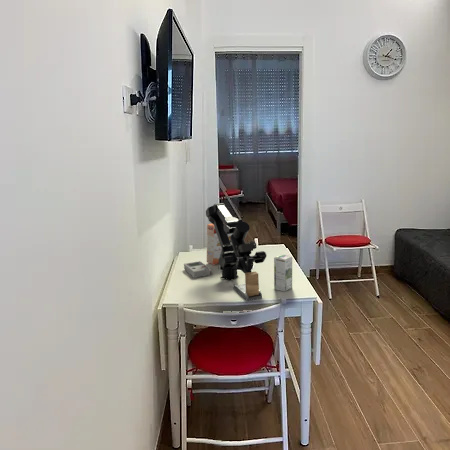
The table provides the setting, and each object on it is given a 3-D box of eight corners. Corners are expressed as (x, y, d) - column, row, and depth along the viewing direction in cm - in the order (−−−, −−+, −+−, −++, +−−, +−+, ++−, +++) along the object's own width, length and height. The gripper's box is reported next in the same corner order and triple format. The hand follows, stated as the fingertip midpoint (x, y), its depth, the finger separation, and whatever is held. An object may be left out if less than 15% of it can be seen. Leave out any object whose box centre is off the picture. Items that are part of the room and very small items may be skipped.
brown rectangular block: (245, 293, 180) (245, 273, 178) (256, 292, 182) (255, 271, 180) (248, 296, 178) (247, 275, 176) (258, 294, 179) (258, 273, 177)
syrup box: (281, 285, 192) (280, 253, 189) (292, 288, 189) (292, 255, 186) (274, 289, 188) (273, 257, 185) (285, 292, 184) (285, 259, 181)
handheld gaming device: (193, 278, 207) (193, 271, 206) (184, 270, 220) (183, 263, 220) (211, 276, 211) (211, 268, 210) (200, 267, 224) (200, 260, 223)
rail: (233, 288, 191) (233, 282, 191) (247, 286, 193) (247, 280, 193) (247, 301, 177) (247, 294, 176) (262, 298, 179) (262, 292, 178)
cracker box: (213, 265, 225) (214, 226, 219) (206, 262, 229) (206, 224, 223) (233, 259, 234) (234, 221, 228) (225, 256, 238) (226, 219, 233)
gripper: (222, 237, 178) (233, 271, 170) (264, 232, 184) (276, 264, 176) (217, 251, 187) (227, 284, 179) (257, 246, 193) (268, 277, 185)
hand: (250, 277), depth 180 cm, fingers closed, pressing on brown rectangular block
